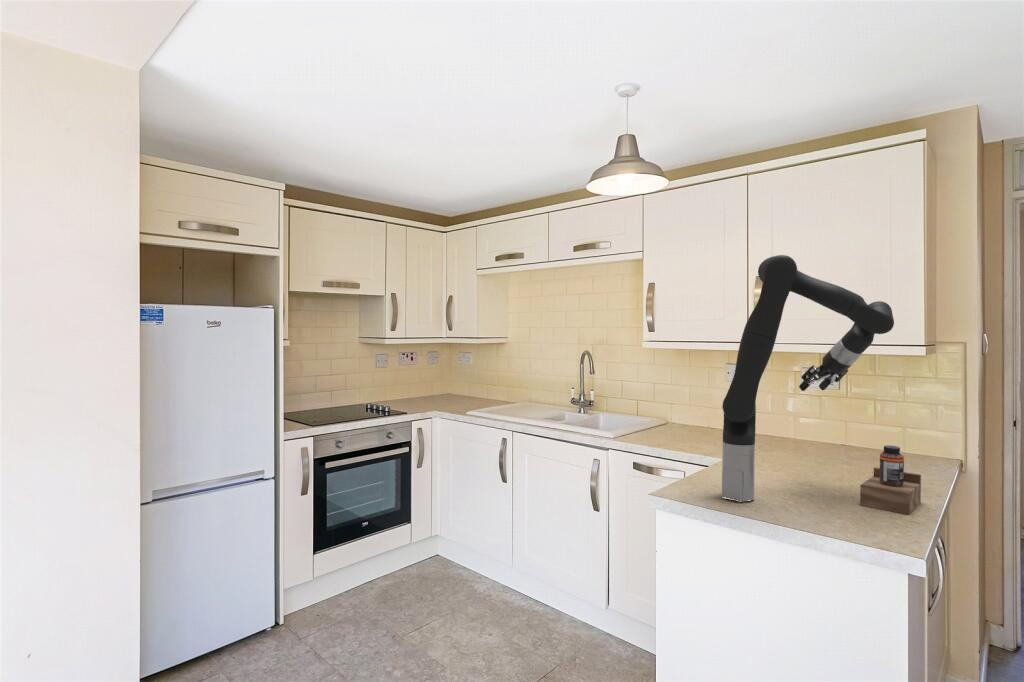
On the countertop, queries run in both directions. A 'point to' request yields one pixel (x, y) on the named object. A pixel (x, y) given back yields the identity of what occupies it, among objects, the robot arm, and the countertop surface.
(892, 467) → the supplement bottle
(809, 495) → the countertop surface
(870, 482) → the walnut shelf
